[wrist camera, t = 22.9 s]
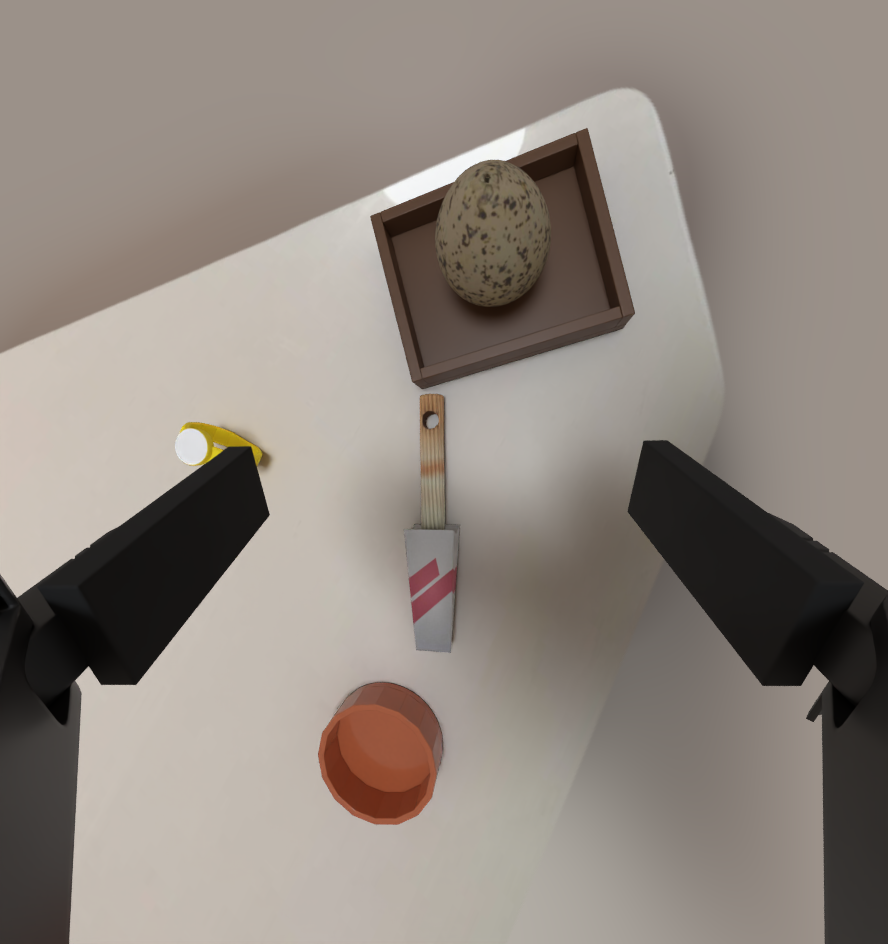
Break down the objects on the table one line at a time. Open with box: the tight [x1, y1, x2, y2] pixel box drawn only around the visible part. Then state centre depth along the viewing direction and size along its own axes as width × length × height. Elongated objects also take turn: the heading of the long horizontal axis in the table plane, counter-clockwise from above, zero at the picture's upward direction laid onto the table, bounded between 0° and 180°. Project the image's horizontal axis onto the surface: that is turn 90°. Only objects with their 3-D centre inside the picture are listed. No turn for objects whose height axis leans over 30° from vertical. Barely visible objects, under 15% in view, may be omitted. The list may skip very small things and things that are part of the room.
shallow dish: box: [318, 683, 443, 825], centre depth 31 cm, size 10×10×3 cm
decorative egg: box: [435, 160, 551, 307], centre depth 23 cm, size 7×7×10 cm
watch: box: [175, 422, 263, 466], centre depth 31 cm, size 6×3×6 cm, turn 60°
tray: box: [370, 128, 635, 389], centre depth 28 cm, size 16×13×3 cm
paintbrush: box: [404, 394, 460, 653], centre depth 30 cm, size 4×3×20 cm
